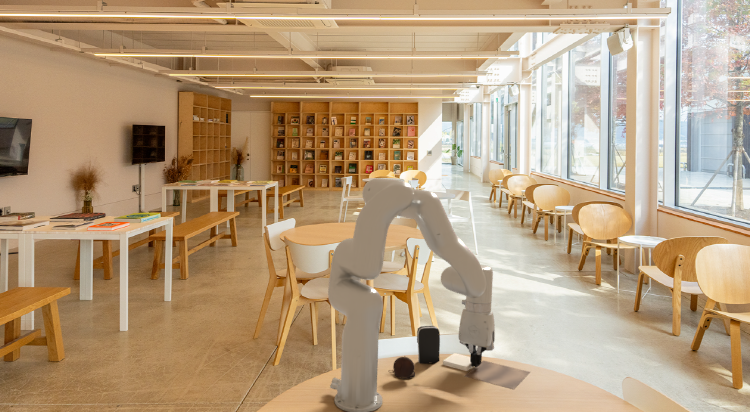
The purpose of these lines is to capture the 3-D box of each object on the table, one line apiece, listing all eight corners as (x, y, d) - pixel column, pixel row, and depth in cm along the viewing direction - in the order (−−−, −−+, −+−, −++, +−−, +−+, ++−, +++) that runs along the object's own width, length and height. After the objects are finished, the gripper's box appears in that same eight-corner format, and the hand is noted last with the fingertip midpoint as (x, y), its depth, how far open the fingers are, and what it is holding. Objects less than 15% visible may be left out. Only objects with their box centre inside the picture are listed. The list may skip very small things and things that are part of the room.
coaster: (442, 368, 167) (443, 360, 167) (454, 360, 174) (454, 352, 174) (466, 374, 163) (467, 366, 163) (477, 366, 170) (477, 358, 169)
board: (463, 381, 159) (463, 376, 159) (483, 365, 172) (483, 360, 172) (513, 394, 151) (514, 389, 151) (530, 376, 164) (530, 372, 163)
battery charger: (437, 359, 175) (437, 324, 174) (440, 363, 171) (440, 327, 170) (416, 360, 174) (415, 325, 173) (418, 364, 170) (418, 328, 169)
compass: (415, 372, 165) (416, 348, 164) (413, 382, 157) (414, 358, 156) (389, 369, 166) (390, 346, 165) (386, 380, 158) (386, 356, 158)
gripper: (450, 304, 164) (447, 363, 166) (497, 314, 156) (494, 375, 158) (460, 299, 170) (458, 356, 172) (506, 308, 162) (503, 367, 164)
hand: (475, 365), depth 165 cm, fingers closed
